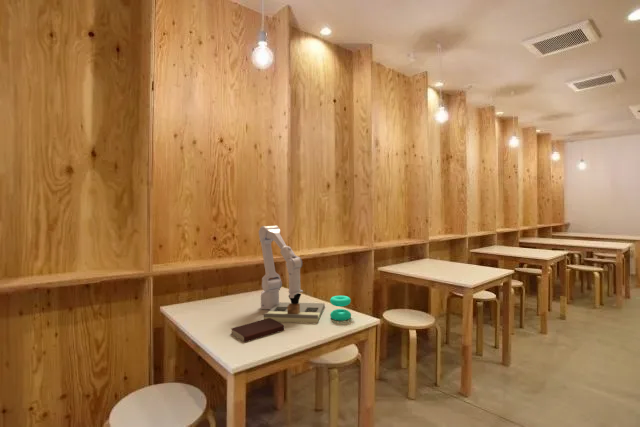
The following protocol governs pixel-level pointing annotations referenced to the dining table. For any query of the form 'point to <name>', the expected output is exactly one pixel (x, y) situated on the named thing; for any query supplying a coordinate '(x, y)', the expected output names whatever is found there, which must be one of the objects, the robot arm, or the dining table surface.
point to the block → (293, 308)
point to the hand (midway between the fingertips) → (295, 308)
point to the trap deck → (301, 317)
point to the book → (257, 329)
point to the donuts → (340, 313)
